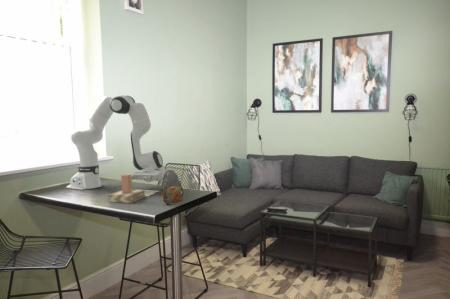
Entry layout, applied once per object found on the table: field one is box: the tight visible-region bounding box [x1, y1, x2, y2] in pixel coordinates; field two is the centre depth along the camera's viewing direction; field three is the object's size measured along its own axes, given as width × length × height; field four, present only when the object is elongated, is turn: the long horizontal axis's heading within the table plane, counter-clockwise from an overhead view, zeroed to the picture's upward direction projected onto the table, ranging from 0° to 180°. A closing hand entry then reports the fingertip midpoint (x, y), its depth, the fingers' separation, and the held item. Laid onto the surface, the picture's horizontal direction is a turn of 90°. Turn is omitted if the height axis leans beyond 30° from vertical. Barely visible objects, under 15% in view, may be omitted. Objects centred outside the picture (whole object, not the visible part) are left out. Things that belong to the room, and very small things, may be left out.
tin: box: [162, 185, 184, 205], centre depth 198 cm, size 15×3×8 cm, turn 149°
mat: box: [144, 189, 160, 197], centre depth 222 cm, size 16×14×1 cm
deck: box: [108, 189, 146, 204], centre depth 207 cm, size 14×14×4 cm
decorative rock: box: [160, 169, 183, 192], centre depth 215 cm, size 16×7×15 cm, turn 150°
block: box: [120, 173, 133, 193], centre depth 206 cm, size 4×4×10 cm
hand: (137, 178), depth 217 cm, fingers open, 8 cm apart
